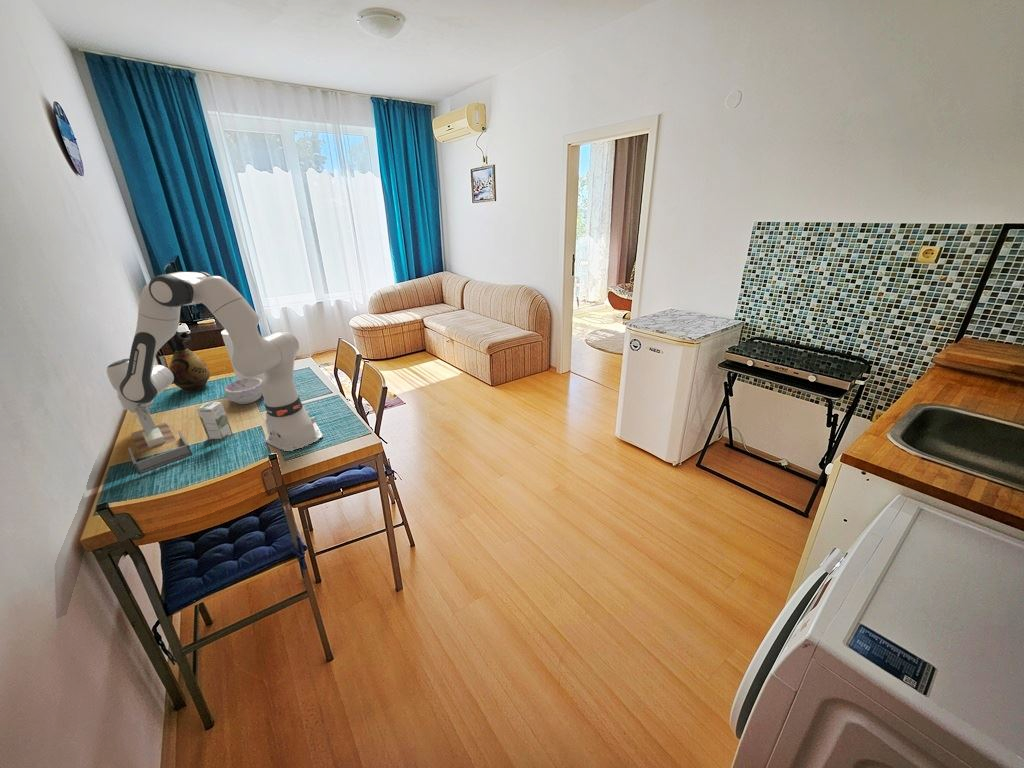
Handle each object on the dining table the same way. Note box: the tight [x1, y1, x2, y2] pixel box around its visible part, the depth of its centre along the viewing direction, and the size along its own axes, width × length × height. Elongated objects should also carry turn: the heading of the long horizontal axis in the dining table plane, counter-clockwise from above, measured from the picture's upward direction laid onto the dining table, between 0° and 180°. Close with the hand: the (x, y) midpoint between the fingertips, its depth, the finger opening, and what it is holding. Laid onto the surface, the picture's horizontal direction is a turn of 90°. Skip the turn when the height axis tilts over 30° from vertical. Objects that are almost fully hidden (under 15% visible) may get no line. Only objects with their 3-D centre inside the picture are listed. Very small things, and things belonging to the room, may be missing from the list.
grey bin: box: [127, 430, 194, 476], centre depth 146 cm, size 15×15×4 cm
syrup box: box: [196, 401, 233, 440], centre depth 154 cm, size 6×6×14 cm
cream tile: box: [144, 432, 166, 449], centre depth 152 cm, size 5×5×2 cm
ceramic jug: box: [166, 330, 211, 393], centre depth 194 cm, size 17×15×30 cm
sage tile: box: [142, 428, 160, 437], centre depth 155 cm, size 5×5×2 cm
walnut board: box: [130, 422, 177, 453], centre depth 157 cm, size 20×11×2 cm, turn 47°
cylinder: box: [220, 329, 265, 381], centre depth 199 cm, size 17×17×28 cm
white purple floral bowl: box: [224, 378, 263, 405], centre depth 186 cm, size 15×15×8 cm
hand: (151, 432), depth 158 cm, fingers closed
